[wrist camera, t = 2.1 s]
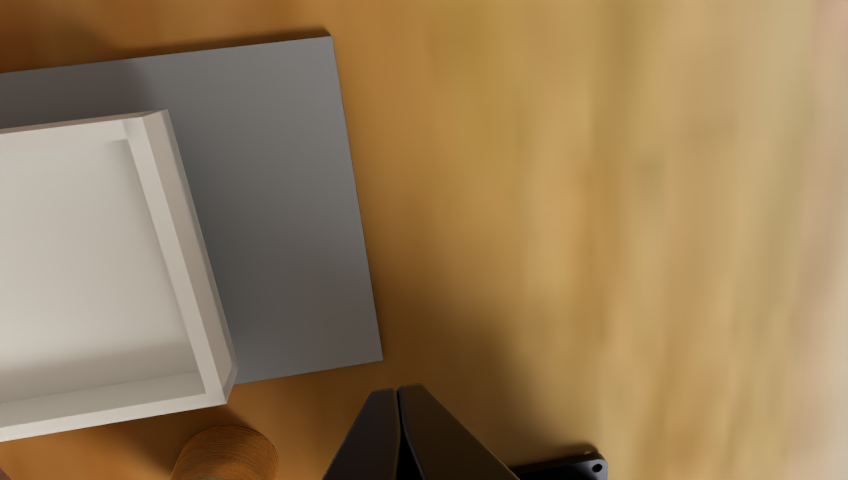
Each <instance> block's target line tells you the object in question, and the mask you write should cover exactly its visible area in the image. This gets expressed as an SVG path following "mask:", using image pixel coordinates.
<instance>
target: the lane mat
mask: <svg viewBox="0 0 848 480" xmlns="http://www.w3.org/2000/svg"><path fill="white" fill-rule="evenodd" d="M162 109H168V112H169V116H170V119H171V123H172V126H173V130H174V134H175V137H176V141H177V145H178V148H179V152H180V155H181V159H182V163H183V166H184V170H185V174H186V177H187V181H188V184H189V188H190V192H191V195H192V199H193V202H194V206H195V210H196V213H197V217H198V221H199V224H200V228H201V231H202V235H203V239H204V242H205V246H206V250H207V253H208V257H209V260H210V264H211V268H212V271H213V275H214V279H215V282H216V286H217V289H218V293H219V297H220V300H221V304H222V307H223V311H224V315H225V318H226V322H227V326H228V329H229V333H230V336H231V340H232V344H233V347H234V351H235V355H236V358H237V362H238V365H239V370H238V373H237V376H236V379H235V381H234V384H233V385H238V384H244V383H250V382H256V381H262V380H268V379H274V378H280V377H286V376H292V375H298V374H304V373H310V372H316V371H322V370H328V369H334V368H340V367H346V366H353V365H359V364H365V363H371V362H377V361H383V354H382V348H381V341H380V335H379V329H378V322H377V316H376V310H375V304H374V297H373V291H372V285H371V278H370V272H369V266H368V260H367V253H366V247H365V241H364V234H363V228H362V222H361V215H360V209H359V203H358V197H357V190H356V184H355V178H354V171H353V165H352V159H351V153H350V146H349V140H348V134H347V127H346V121H345V115H344V108H343V102H342V96H341V90H340V83H339V77H338V71H337V64H336V58H335V52H334V46H333V39H332V36H327V37H318V38H309V39H300V40H291V41H282V42H273V43H265V44H256V45H247V46H238V47H229V48H220V49H211V50H202V51H194V52H185V53H176V54H167V55H158V56H149V57H140V58H131V59H123V60H114V61H105V62H96V63H87V64H78V65H69V66H60V67H52V68H43V69H34V70H25V71H16V72H7V73H0V129H5V128H13V127H22V126H30V125H38V124H46V123H55V122H63V121H71V120H79V119H88V118H96V117H104V116H112V115H121V114H129V113H137V112H145V111H154V110H162Z"/></svg>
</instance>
